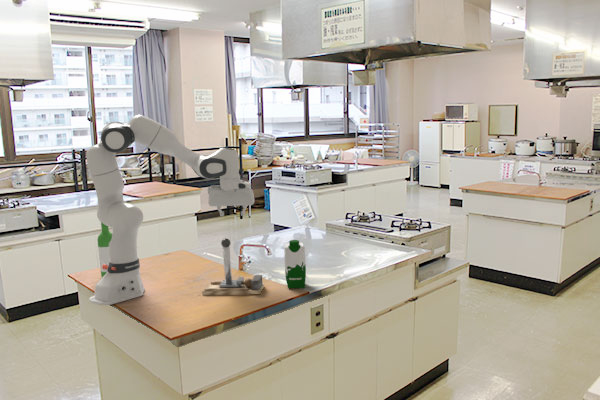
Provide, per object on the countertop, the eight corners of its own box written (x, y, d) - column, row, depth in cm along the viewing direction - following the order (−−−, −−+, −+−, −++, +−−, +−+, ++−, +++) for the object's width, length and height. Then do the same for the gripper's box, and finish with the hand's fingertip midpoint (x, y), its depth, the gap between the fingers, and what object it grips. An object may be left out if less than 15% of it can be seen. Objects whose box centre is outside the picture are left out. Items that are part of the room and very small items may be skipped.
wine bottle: (108, 274, 240) (101, 213, 236) (122, 274, 238) (115, 213, 234) (97, 279, 233) (91, 216, 228) (112, 279, 231) (105, 216, 226)
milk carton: (285, 289, 205) (283, 242, 202) (285, 283, 214) (283, 238, 211) (307, 288, 205) (304, 241, 202) (306, 282, 214) (304, 237, 211)
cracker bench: (202, 294, 203) (201, 282, 203) (209, 287, 213) (208, 274, 212) (259, 294, 201) (259, 281, 200) (264, 286, 210) (263, 274, 210)
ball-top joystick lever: (219, 289, 204) (216, 240, 201) (224, 284, 211) (220, 236, 208) (241, 289, 203) (237, 240, 200) (244, 283, 210) (241, 236, 207)
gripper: (205, 186, 215) (207, 217, 217) (251, 184, 213) (253, 216, 215) (209, 184, 221) (211, 214, 223) (254, 183, 219) (256, 213, 221)
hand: (232, 215), depth 219 cm, fingers open, 8 cm apart
